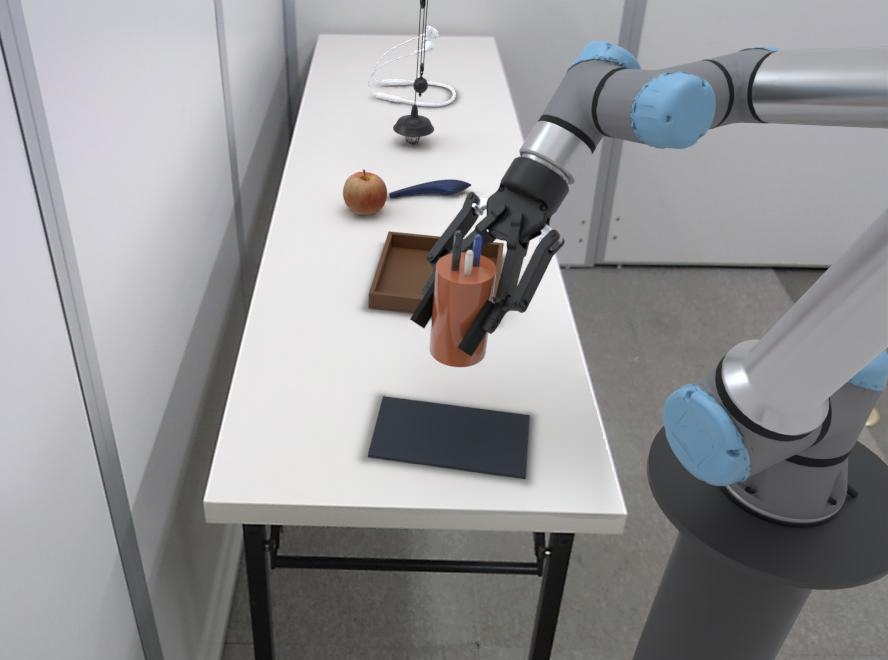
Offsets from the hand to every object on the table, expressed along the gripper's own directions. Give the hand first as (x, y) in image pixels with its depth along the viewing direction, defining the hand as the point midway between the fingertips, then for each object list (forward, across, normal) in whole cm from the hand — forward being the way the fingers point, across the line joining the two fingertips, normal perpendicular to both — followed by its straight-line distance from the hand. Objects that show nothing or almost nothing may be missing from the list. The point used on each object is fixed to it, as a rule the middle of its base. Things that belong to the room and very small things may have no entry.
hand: (440, 337), depth 108 cm
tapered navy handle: (-24, +47, -46) cm, 70 cm away
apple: (-14, +50, -36) cm, 64 cm away
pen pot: (0, 0, -5) cm, 5 cm away
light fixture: (-33, +64, -56) cm, 91 cm away
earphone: (-47, +83, -69) cm, 118 cm away
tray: (-9, +25, -31) cm, 41 cm away
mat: (+10, -2, -12) cm, 16 cm away
